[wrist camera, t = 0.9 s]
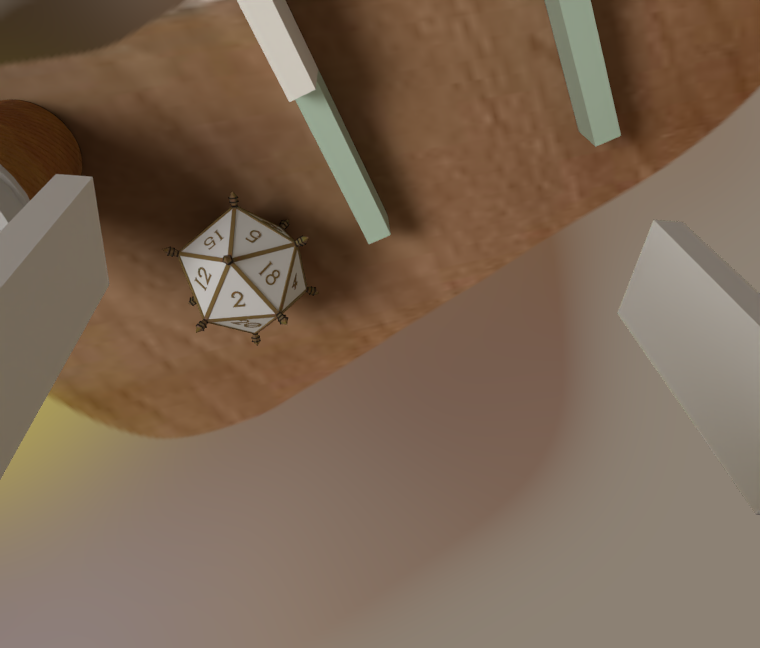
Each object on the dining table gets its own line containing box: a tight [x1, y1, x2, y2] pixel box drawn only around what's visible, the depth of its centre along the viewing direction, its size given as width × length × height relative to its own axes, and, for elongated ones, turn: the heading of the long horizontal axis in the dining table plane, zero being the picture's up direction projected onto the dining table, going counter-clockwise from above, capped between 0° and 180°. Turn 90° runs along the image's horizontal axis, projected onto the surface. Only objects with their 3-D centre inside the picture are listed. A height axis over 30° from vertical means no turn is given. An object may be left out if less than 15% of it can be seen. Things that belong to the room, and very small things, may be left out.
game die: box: [163, 192, 319, 346], centre depth 38 cm, size 9×8×10 cm
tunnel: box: [237, 0, 621, 244], centre depth 33 cm, size 20×16×5 cm
